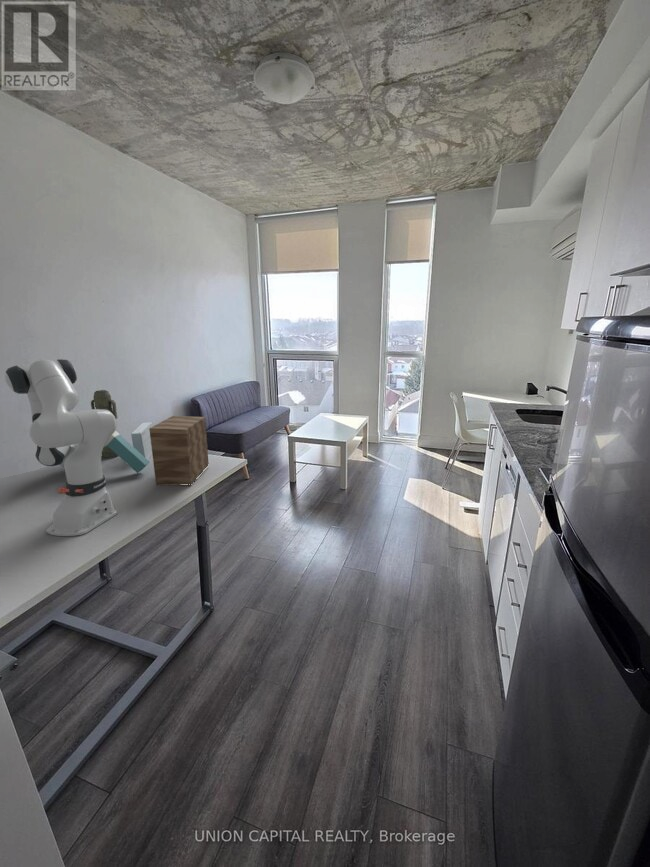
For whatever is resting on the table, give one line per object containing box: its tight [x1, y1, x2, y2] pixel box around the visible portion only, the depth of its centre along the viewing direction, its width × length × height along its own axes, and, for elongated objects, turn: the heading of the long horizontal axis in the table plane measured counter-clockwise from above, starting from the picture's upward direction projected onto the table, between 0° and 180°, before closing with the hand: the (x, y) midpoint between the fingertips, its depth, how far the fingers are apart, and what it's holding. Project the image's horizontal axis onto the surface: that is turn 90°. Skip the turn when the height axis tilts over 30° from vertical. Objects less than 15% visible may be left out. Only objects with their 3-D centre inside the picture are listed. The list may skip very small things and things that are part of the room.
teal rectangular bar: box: [105, 429, 151, 474], centre depth 169 cm, size 4×24×6 cm
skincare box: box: [130, 421, 154, 461], centre depth 193 cm, size 21×6×16 cm, turn 10°
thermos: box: [90, 389, 119, 459], centre depth 189 cm, size 9×12×35 cm
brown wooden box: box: [149, 415, 210, 485], centre depth 168 cm, size 22×16×26 cm
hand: (111, 433), depth 167 cm, fingers closed on teal rectangular bar, 4 cm apart
